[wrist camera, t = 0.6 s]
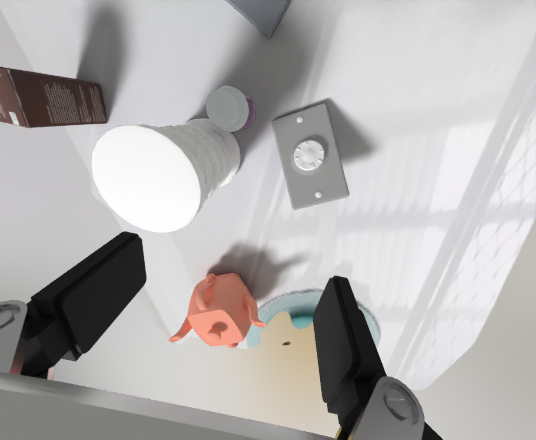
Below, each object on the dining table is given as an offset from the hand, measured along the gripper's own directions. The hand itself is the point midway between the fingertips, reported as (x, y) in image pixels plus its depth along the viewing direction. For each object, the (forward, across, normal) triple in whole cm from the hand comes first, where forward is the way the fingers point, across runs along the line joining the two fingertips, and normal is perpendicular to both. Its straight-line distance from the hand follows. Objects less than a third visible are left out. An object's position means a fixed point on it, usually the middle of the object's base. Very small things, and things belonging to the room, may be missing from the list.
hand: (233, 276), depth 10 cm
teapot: (+29, +4, +33) cm, 44 cm away
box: (+29, +31, -3) cm, 43 cm away
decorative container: (+29, +11, +1) cm, 31 cm away
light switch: (+29, -6, -2) cm, 30 cm away
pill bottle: (+29, +7, -6) cm, 31 cm away
